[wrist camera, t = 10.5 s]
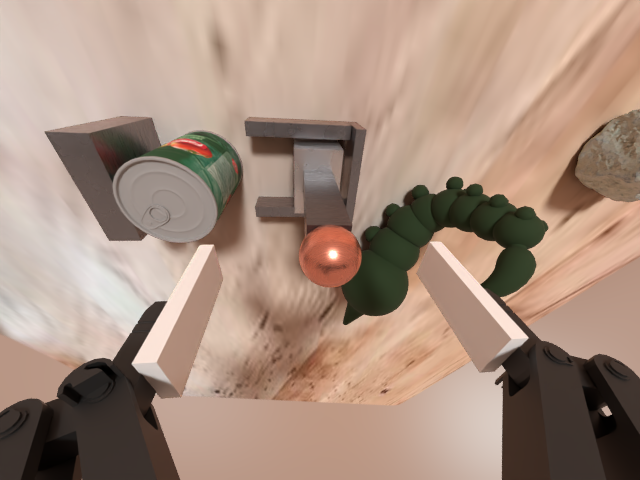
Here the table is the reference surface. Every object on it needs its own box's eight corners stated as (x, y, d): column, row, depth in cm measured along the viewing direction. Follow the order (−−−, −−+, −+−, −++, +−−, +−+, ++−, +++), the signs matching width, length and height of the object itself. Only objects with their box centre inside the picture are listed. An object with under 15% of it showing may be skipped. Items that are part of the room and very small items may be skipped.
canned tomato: (203, 114, 25) (148, 133, 16) (256, 170, 29) (236, 211, 20) (160, 159, 27) (92, 198, 18) (215, 205, 31) (181, 256, 22)
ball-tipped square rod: (331, 195, 31) (366, 315, 15) (295, 194, 31) (291, 318, 15) (336, 139, 27) (391, 224, 11) (294, 137, 26) (288, 223, 11)
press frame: (345, 207, 33) (358, 243, 25) (157, 204, 30) (111, 244, 23) (355, 122, 26) (378, 138, 19) (119, 110, 24) (39, 124, 17)
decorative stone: (558, 135, 29) (606, 203, 26) (709, 60, 22) (798, 142, 19) (555, 164, 38) (589, 217, 35) (660, 118, 31) (714, 179, 28)
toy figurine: (414, 151, 30) (312, 277, 39) (559, 203, 14) (331, 396, 23) (455, 187, 34) (353, 295, 43) (607, 261, 18) (394, 409, 27)
